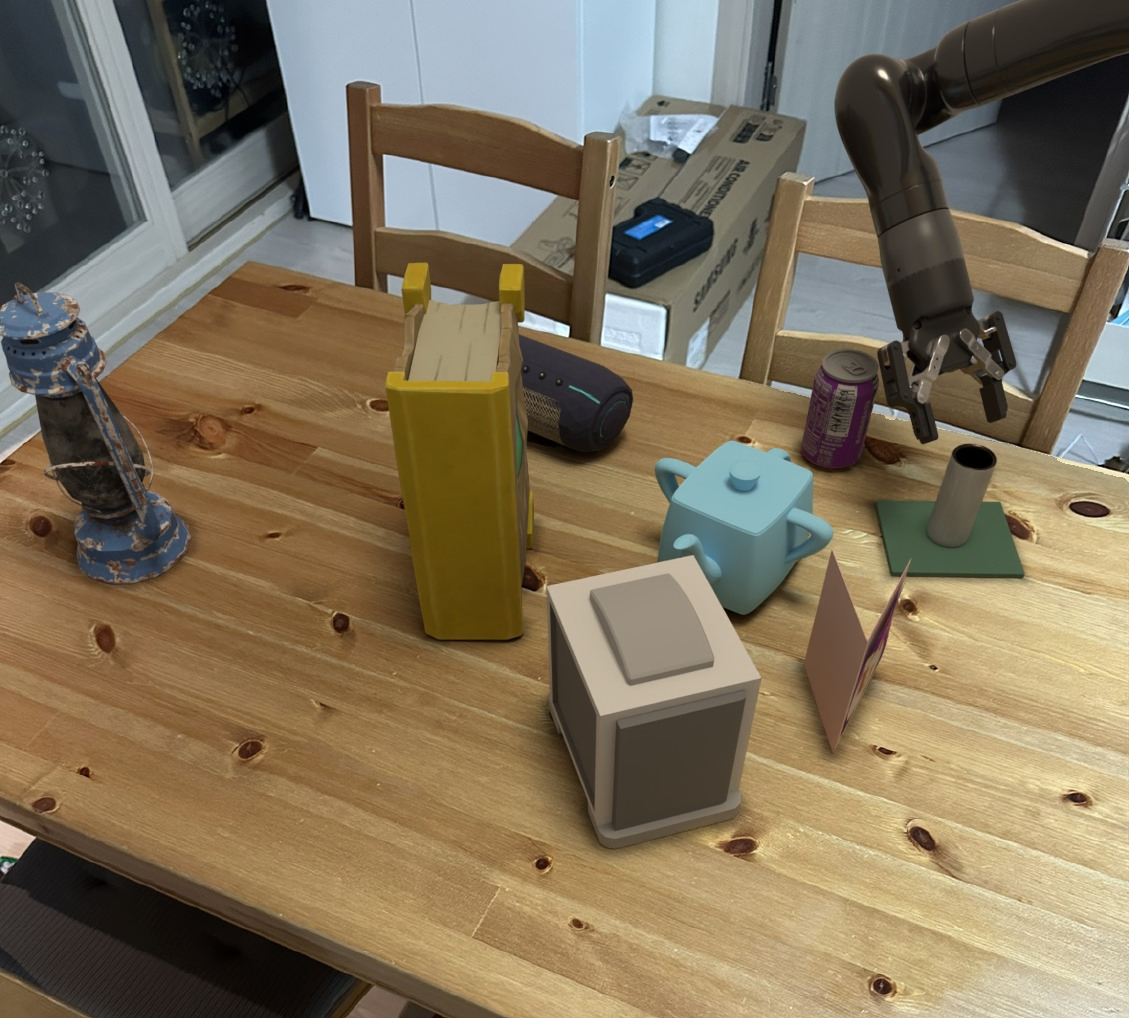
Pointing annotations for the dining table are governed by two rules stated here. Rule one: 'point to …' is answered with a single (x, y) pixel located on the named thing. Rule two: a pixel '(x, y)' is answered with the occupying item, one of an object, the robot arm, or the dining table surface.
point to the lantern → (89, 442)
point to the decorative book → (464, 456)
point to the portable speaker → (572, 397)
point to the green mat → (976, 558)
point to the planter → (961, 494)
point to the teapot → (740, 520)
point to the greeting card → (843, 651)
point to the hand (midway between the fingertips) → (964, 431)
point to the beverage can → (840, 408)
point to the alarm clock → (650, 698)
